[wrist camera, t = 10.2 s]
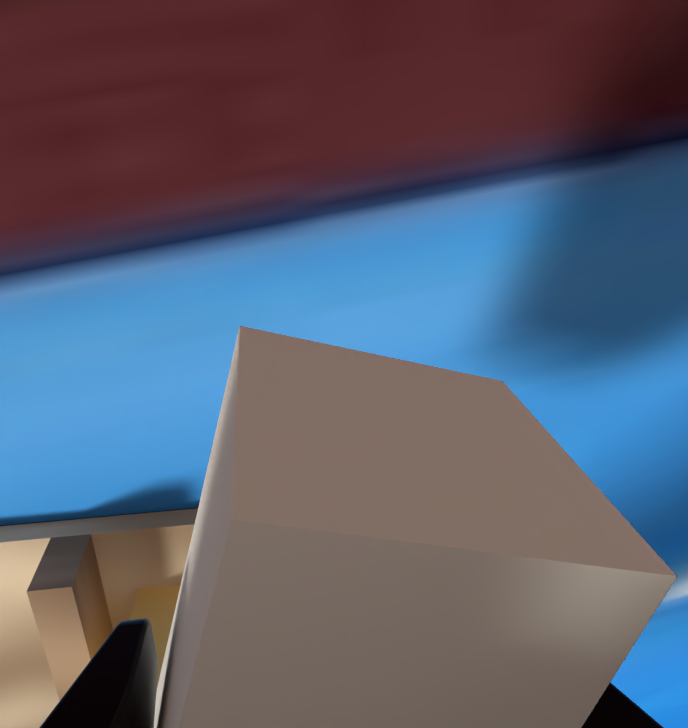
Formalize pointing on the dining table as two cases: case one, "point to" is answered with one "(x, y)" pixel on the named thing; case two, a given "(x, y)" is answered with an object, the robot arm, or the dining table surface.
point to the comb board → (74, 597)
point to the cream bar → (395, 556)
